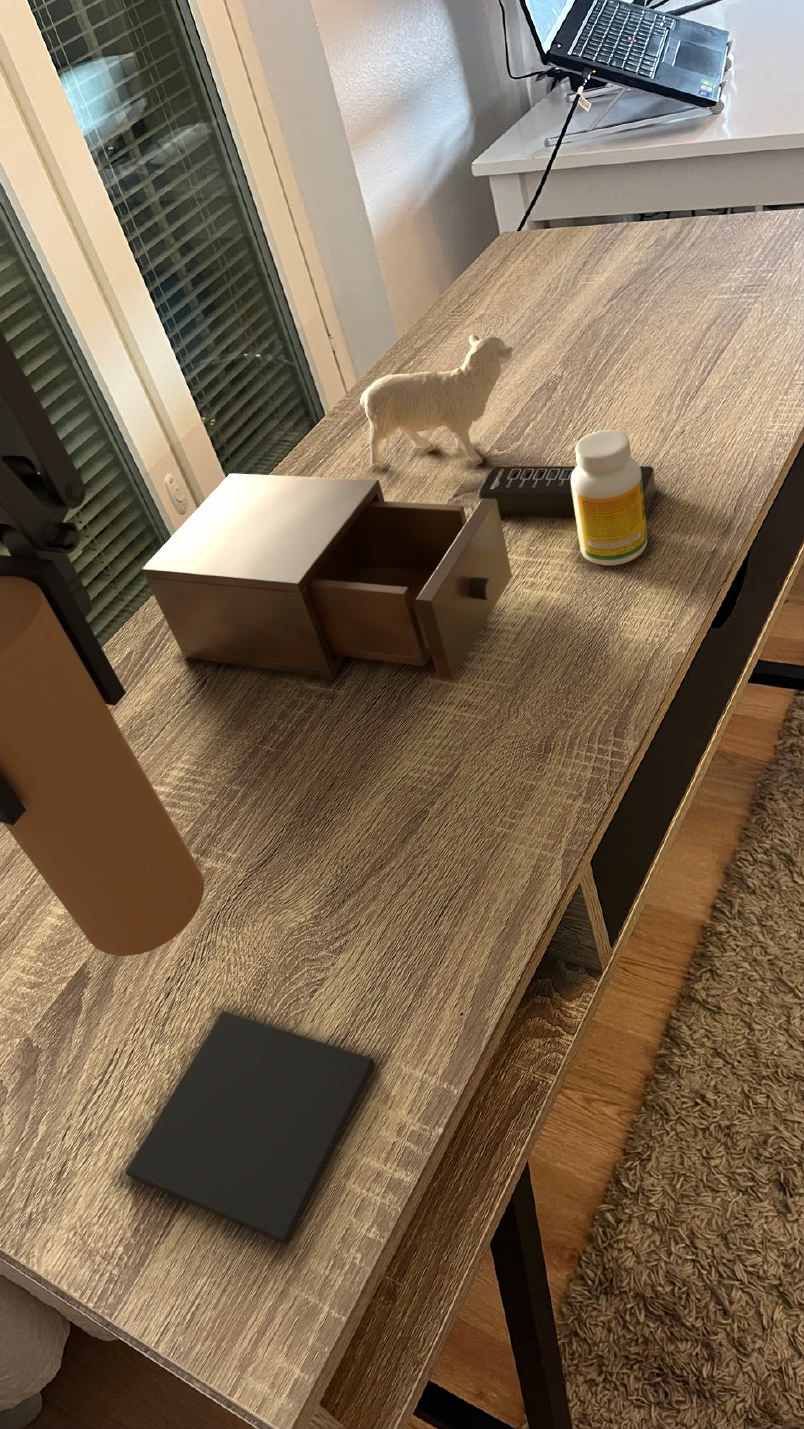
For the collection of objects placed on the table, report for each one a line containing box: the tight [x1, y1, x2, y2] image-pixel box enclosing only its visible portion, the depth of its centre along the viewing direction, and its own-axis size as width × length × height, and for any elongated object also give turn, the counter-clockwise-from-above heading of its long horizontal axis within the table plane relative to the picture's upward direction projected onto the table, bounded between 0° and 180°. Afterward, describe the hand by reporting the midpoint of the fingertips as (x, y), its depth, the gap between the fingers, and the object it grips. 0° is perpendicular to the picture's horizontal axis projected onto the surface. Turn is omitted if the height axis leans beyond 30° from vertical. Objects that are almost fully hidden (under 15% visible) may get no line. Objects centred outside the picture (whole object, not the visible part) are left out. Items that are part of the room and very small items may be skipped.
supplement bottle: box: [571, 429, 648, 566], centre depth 83 cm, size 5×5×10 cm
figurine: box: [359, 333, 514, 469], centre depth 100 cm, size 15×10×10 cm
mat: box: [125, 1010, 376, 1245], centre depth 57 cm, size 10×10×1 cm
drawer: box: [306, 499, 513, 680], centre depth 82 cm, size 15×12×7 cm
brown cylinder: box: [0, 576, 205, 957], centre depth 42 cm, size 6×6×16 cm
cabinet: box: [141, 473, 386, 679], centre depth 87 cm, size 15×14×9 cm
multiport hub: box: [477, 465, 657, 518], centre depth 92 cm, size 4×14×2 cm, turn 68°
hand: (46, 749), depth 41 cm, fingers closed on brown cylinder, 6 cm apart
